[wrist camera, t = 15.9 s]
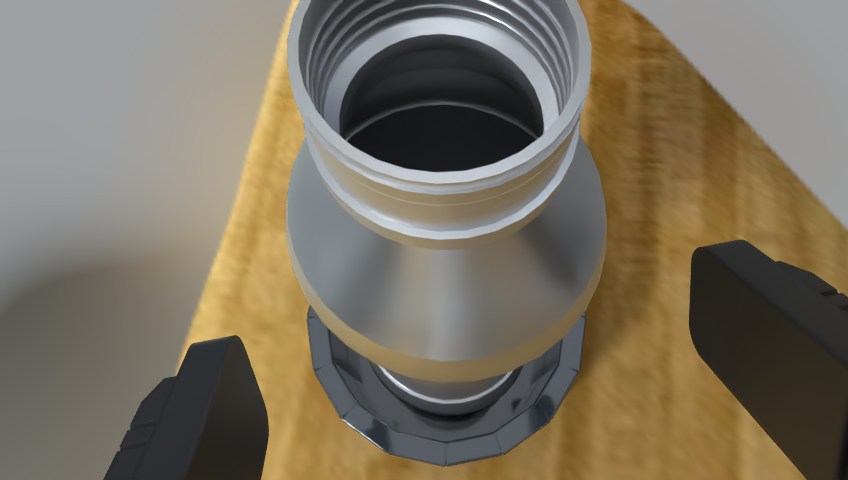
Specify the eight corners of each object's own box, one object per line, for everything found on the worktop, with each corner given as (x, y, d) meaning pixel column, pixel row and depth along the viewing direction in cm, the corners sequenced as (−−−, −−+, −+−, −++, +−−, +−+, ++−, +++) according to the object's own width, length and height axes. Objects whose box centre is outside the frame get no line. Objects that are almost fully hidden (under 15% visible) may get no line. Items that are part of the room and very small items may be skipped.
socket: (530, 211, 28) (544, 169, 24) (590, 434, 25) (620, 431, 21) (317, 252, 28) (293, 217, 24) (348, 483, 25) (327, 490, 20)
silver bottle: (466, 240, 27) (502, -230, 8) (553, 367, 25) (857, 122, 6) (343, 313, 26) (77, -29, 8) (423, 452, 24) (332, 457, 6)
